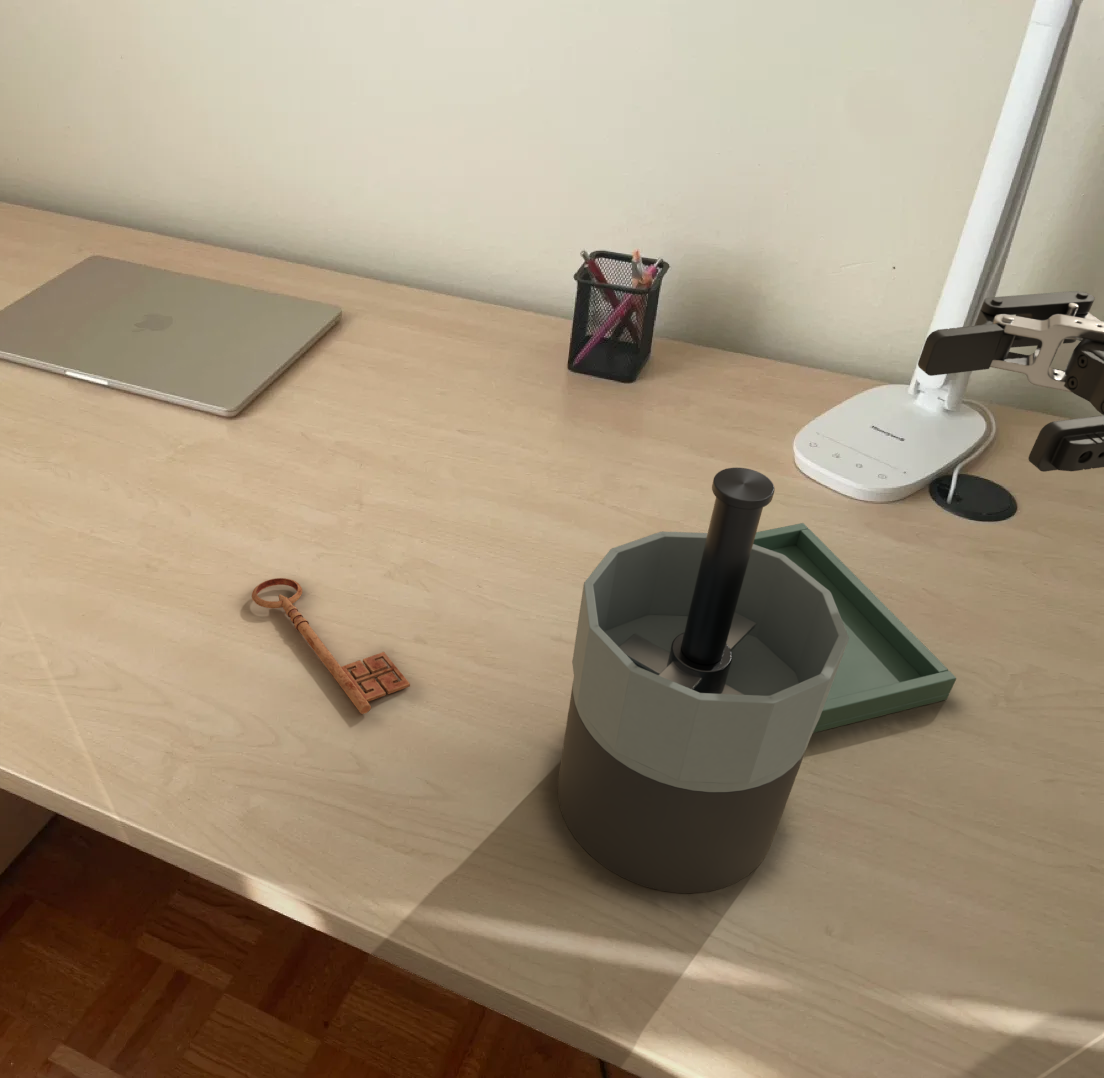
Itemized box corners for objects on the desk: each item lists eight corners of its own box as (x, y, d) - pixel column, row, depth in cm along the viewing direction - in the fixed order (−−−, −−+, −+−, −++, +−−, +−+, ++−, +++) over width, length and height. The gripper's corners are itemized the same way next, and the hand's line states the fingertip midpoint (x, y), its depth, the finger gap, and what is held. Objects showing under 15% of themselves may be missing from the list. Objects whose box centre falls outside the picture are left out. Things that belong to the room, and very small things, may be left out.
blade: (806, 686, 59) (877, 481, 50) (723, 780, 54) (787, 570, 45) (665, 611, 64) (708, 412, 55) (578, 691, 59) (610, 486, 50)
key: (413, 696, 72) (313, 572, 82) (415, 686, 72) (313, 562, 82) (338, 723, 69) (244, 592, 80) (339, 714, 69) (244, 582, 79)
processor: (821, 840, 62) (901, 648, 53) (643, 929, 58) (693, 738, 48) (681, 694, 72) (726, 508, 62) (517, 762, 67) (538, 573, 57)
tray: (947, 699, 71) (957, 677, 70) (768, 744, 68) (776, 722, 67) (797, 543, 84) (803, 522, 83) (642, 574, 81) (646, 553, 80)
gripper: (1198, 231, 55) (915, 260, 53) (1465, 366, 44) (1124, 409, 42) (1134, 359, 60) (873, 390, 57) (1362, 508, 49) (1050, 554, 46)
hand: (979, 398), depth 50 cm, fingers open, 8 cm apart
